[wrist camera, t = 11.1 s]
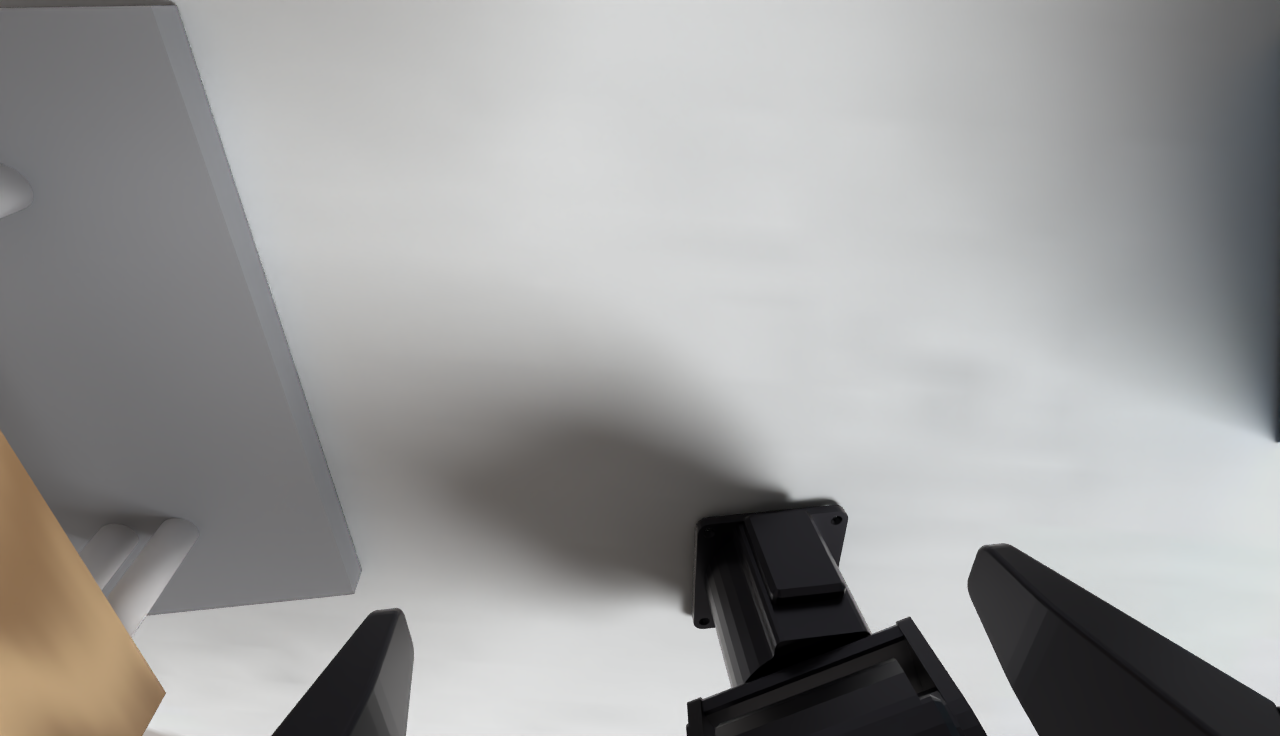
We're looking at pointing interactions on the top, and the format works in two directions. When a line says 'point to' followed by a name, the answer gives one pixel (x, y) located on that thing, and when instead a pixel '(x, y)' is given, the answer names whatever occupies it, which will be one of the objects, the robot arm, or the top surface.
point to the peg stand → (148, 329)
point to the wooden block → (60, 630)
